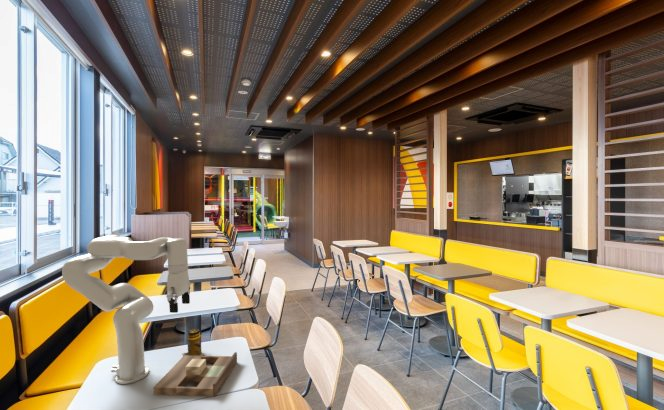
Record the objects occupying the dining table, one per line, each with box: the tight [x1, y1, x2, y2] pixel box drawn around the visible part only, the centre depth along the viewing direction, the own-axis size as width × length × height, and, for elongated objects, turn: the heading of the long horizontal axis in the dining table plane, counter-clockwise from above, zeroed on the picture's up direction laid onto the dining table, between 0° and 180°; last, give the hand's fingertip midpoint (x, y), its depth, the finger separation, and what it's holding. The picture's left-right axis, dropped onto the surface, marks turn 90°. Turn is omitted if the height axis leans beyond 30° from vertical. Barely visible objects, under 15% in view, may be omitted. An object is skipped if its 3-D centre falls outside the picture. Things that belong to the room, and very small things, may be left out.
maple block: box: [186, 359, 206, 375], centre depth 141 cm, size 6×6×4 cm
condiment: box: [181, 328, 204, 357], centre depth 159 cm, size 7×8×12 cm
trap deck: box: [153, 351, 238, 397], centre depth 141 cm, size 25×24×5 cm
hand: (180, 307), depth 139 cm, fingers open, 9 cm apart
